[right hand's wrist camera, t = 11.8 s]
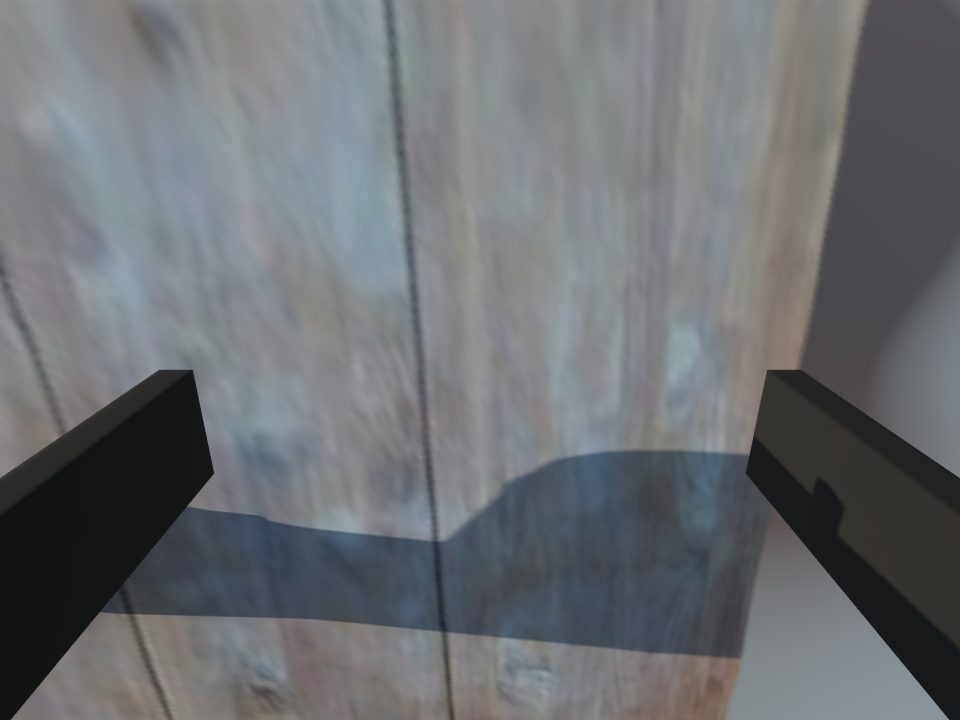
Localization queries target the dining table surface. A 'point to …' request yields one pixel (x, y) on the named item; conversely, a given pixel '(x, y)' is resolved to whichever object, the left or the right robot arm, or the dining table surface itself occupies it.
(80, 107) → the dining table surface
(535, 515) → the dining table surface
